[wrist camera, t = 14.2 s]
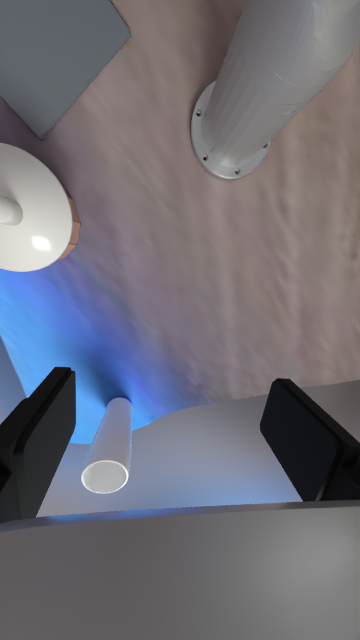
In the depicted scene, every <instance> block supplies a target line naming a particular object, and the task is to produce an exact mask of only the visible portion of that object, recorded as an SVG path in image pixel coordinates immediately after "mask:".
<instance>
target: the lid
mask: <svg viewBox="0 0 360 640" xmlns="http://www.w3.org/2000/svg"><path fill="white" fill-rule="evenodd" d="M72 232H73V214H72V208H71V205H70V201H69V199H68V196H67V194H66V192H65V190H64V188H63V186H62V185H61V183H60V182H59V180H58V179H57V177H56V176H55V175H54V174H53V173H52V172H51V170H49V169H48V168H47V167H46V166H45V165H44V164H43V163H42V162H41V161H39V160H38V159H37V158H35V157H34V156H33V155H31V154H29V153H28V152H26V151H24V150H22V149H20V148H17V147H15V146H12V145H9V144H5V143H0V268H2V269H5V270H10V271H18V272H24V271H33V270H39V269H42V268H45V267H47V266H49V265H51V264H52V263H54V262H55V261H57V260H58V259H59V258H60V257H61V256H62V255H63V253H64V252H65V251H66V249H67V247H68V245H69V243H70V240H71V237H72Z"/></svg>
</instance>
